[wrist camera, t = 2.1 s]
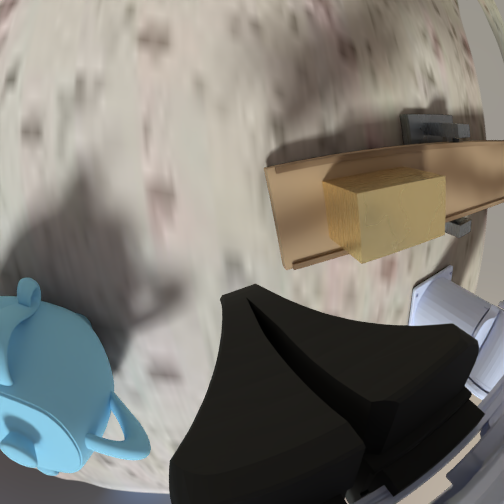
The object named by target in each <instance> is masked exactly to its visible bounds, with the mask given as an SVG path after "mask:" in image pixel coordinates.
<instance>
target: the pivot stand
mask: <svg viewBox="0 0 504 504" xmlns="http://www.w3.org/2000/svg"><path fill="white" fill-rule="evenodd" d="M400 120H401V126H402V133H403V141H404V145H411V144H423V143H436V142H452V138H455V137H456V138H464V137H470V129H469V124H458V123H453V120H452V115H431V114H403V115H400ZM470 230H471V220H470V219H467V218H464V217H461V219H455V220H452V221H449V222H447V223H445V233H448V234H450V235H453V236H456V237H458V238H460V237H462V236H464V235H465V234H467V233H469V232H470Z"/></svg>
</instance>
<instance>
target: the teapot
mask: <svg viewBox="0 0 504 504" xmlns="http://www.w3.org/2000/svg"><path fill="white" fill-rule="evenodd" d="M111 410H112V412H113V413H114V415H115V416H116V418H117V420H118V422H119V424H120V426H121V428H122V431H123V433H124V437H125V440H124V441H113V440H109V439H105V438H102V436H103V433H104V431H105V429H106V427H107V423H108V420H109V417H110V414H111ZM0 449H1V450H2V451H3V453H5V454H6V455H7V456H8V457H9V458H11V459H12V460H13V461H15V462H17V463H19V464H21V465H24V466H27V467H32V468H35V467H37V468H38V469H39V470H40V471H41V472H43V473H45V474H47V475H53V476H54V475H57V474H58V473H59V472H64V473H74V472H77V471H79V470H80V469H81V468H82V467H83V466H84V464H85V463H86V462H87V460H88V459H89V457H90V456H91V455H92V453H93V452H94V451H96V452H99V453H102V454H105V455H108V456H112V457H116V458H120V459H126V460H141V459H143V458H146V457H147V456H148V455H149V453H150V450H151V446H150V442H149V439H148V436H147V434H146V432H145V431H144V429H143V427H142V426H141V424H140V423H139V422H138V420H137V419H136V418H135V417H134V415H133V414H132V413H131V412H130V411H129V410H128V408H127V407H126V406H125V405H124V403H123V402H122V401H121V400H120V399H119V398H118V396H117V395H116V394H115V393H114V381H113V375H112V371H111V367H110V364H109V361H108V357H107V355H106V353H105V350H104V348H103V346H102V344H101V342H100V340H99V338H98V336H97V335H96V333H95V332H94V331H93V329H92V325H91V323H90V321H89V320H88V319H87V318H86V317H85V316H84V315H81V314H78V313H74V312H72V311H70V310H68V309H65V308H63V307H60V306H57V305H54V304H51V303H47V302H44V301H41V290H40V286H39V284H38V283H37V282H36V281H35V280H33V279H32V278H22V279H21V280H20V281H19V283H18V286H17V296H0Z"/></svg>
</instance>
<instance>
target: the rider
mask: <svg viewBox="0 0 504 504" xmlns="http://www.w3.org/2000/svg"><path fill="white" fill-rule="evenodd" d="M322 185H323V192H324V199H325V206H326V214H327V222H328V230H329V238H330V239H332V240H333V241H334V242H335V243H337V244H338V245H339V246H340V247H342V248H343V249H344V250H345V251H347V252H348V253H349V254H350V255H352V256H353V257H354V258H355V259H357V260H358V261H359V262H360V263H361V264H363V263H366V262H369V261H372V260H375V259H378V258H381V257H384V256H387V255H390V254H393V253H395V252H398V251H401V250H404V249H407V248H410V247H413V246H415V245H418V244H421V243H424V242H427V241H429V240H432V239H435V238H437V237H440V236H443V235H445V216H446V180H445V176H443V175H439V174H435V173H431V172H427V171H422V170H418V169H413V168H409V167H404V166H403V167H396V168H390V169H384V170H378V171H373V172H367V173H362V174H356V175H351V176H346V177H340V178H335V179H330V180H325V181H322Z"/></svg>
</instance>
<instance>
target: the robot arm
mask: <svg viewBox="0 0 504 504" xmlns="http://www.w3.org/2000/svg"><path fill="white" fill-rule="evenodd" d="M452 272H453V266H451V265H449V266H448V267H446V268H445V269H443V270H442V271H440V272H438V273H437V274H435V275H434V276H432V277H431V278H429V279H427V280H426V281H424V282H422V283H421V284H419V285H418V286H416V287H415V288H414V289H413V294H412V303H411V311H410V318H409V324H408V326H403V325H384V324H375V323H367V322H360V321H355V320H349V319H345V318H341V317H337V316H333V315H329V314H325V313H322V312H319V311H316V310H313V309H310V308H307V307H305V306H302V305H300V304H297V303H295V302H292V301H290V300H288V299H285V298H283V297H281V296H279V295H277V294H275V293H273V292H271V291H269V290H267V289H265V288H263V287H261V286H259V285H257V284H254V285H251V286H248V287H245V288H242V289H239V290H236V291H233V292H231V293H228V294H225V295H222V297H221V298H220V301H221V304H222V333H221V340H220V346H219V352H218V357H217V361H216V365H215V369H214V372H213V376H212V379H211V381H210V384H209V387H208V390H207V393H206V395H205V398H204V400H203V403H202V405H201V407H200V409H199V411H198V413H197V415H196V417H195V419H194V422H193V424H192V426H191V427H190V429H189V431H188V433H187V434H186V436H185V438H184V439H183V441H182V443H181V444H180V446H179V447H178V449H177V451H176V452H175V454H174V455H173V457H172V458H171V460H170V466H169V491H170V499H171V503H172V504H347V503H346V501H345V500H344V499H345V497H346V499H347V501H348V503H349V504H396V503H398V502H399V501H401V500H402V499H403V498H405V497H406V496H408V495H409V494H411V493H412V492H413V491H415V490H416V489H417V488H418V487H420V486H421V485H422V484H424V483H425V482H426V481H428V480H429V479H430V478H431V477H432V476H434V475H435V474H436V473H437V472H438V471H440V470H441V469H442V468H443V467H444V466H445V465H446V464H447V463H449V462H450V461H451V460H452V459H453V458H454V457H455V456H456V455H457V454H458V453H459V452H460V451H461V450H462V449H463V448H464V447H465V446H466V445H467V444H468V443H469V442H470V441H471V440H472V439H473V438H474V437H475V436H476V435H477V434H478V433H479V431H480V430H481V433H480V435H481V439H480V441H479V442H478V443H477V444H476V445H475V446H474V447H473V448H472V449H471V450H470V452H469V453H468V454H467V455H466V456H465V457H464V458H463V459H462V460H461V461H460V462H459V463H458V464H457V465H456V466H455V467H454V468H453V469H452V470H451V471H450V472H448V473H447V474H446V477H447V479H448V480H449V481H450V482H451V483H452V485H451V486H450V487H449V488H447V489H446V490H445V491H444V492H443V493H442V494H440V495H439V496H438V497H437V498H436V499H434V500H433V501H432V502H430V503H429V504H504V310H502V309H500V308H499V307H497V306H495V305H493V304H490V303H489V302H487V301H485V300H483V299H482V298H480V297H478V296H477V295H475V294H473V293H471V292H470V291H468V290H466V289H464V288H463V287H461V286H459V285H457V284H455V283H454V282H452V281H451V278H452ZM498 306H500V307H501V308H503V309H504V300H503V301H500V303H499V305H498ZM465 386H466V387H465ZM471 393H473V394H474V395H475V396H476V397H478V398H480V399H482V402H481V403H480V404H479V405H478V406H476V405H475V404H474V403H473V402H471V401H470V400H469V398H470V397H471V395H472V394H471Z"/></svg>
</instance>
